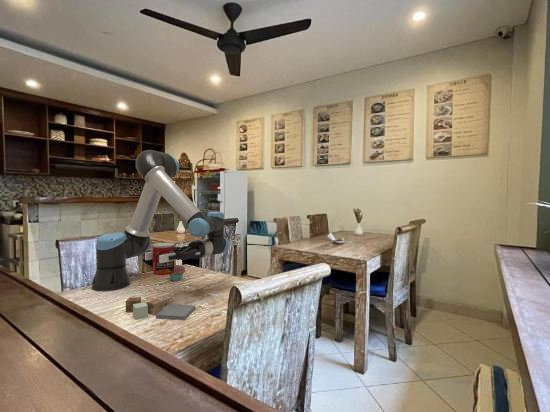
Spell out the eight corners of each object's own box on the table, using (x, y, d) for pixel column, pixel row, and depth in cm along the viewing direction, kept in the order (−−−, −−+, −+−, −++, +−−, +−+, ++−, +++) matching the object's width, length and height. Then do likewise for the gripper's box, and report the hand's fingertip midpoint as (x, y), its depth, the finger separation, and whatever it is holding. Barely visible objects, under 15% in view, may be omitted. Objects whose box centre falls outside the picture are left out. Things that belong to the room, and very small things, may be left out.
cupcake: (181, 282, 142) (181, 257, 141) (163, 281, 142) (163, 256, 141) (187, 277, 150) (187, 253, 150) (170, 277, 150) (170, 253, 150)
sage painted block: (135, 319, 99) (135, 308, 99) (133, 315, 102) (132, 304, 102) (147, 317, 101) (147, 305, 101) (145, 313, 104) (145, 302, 104)
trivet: (155, 318, 100) (155, 314, 100) (169, 307, 110) (169, 304, 110) (184, 319, 99) (184, 316, 99) (195, 308, 109) (195, 305, 109)
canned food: (154, 276, 108) (154, 246, 107) (151, 271, 115) (151, 243, 114) (176, 274, 111) (176, 245, 111) (172, 269, 118) (172, 242, 118)
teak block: (145, 313, 104) (146, 302, 104) (155, 309, 108) (155, 298, 108) (154, 315, 103) (154, 304, 102) (163, 311, 106) (163, 300, 106)
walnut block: (125, 312, 105) (125, 301, 105) (129, 308, 109) (129, 297, 109) (137, 312, 105) (137, 300, 105) (140, 307, 109) (140, 297, 109)
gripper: (217, 260, 122) (170, 272, 103) (183, 254, 133) (136, 264, 114) (217, 242, 122) (170, 250, 103) (183, 238, 133) (135, 245, 114)
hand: (152, 258), depth 109 cm, fingers closed on canned food, 8 cm apart
